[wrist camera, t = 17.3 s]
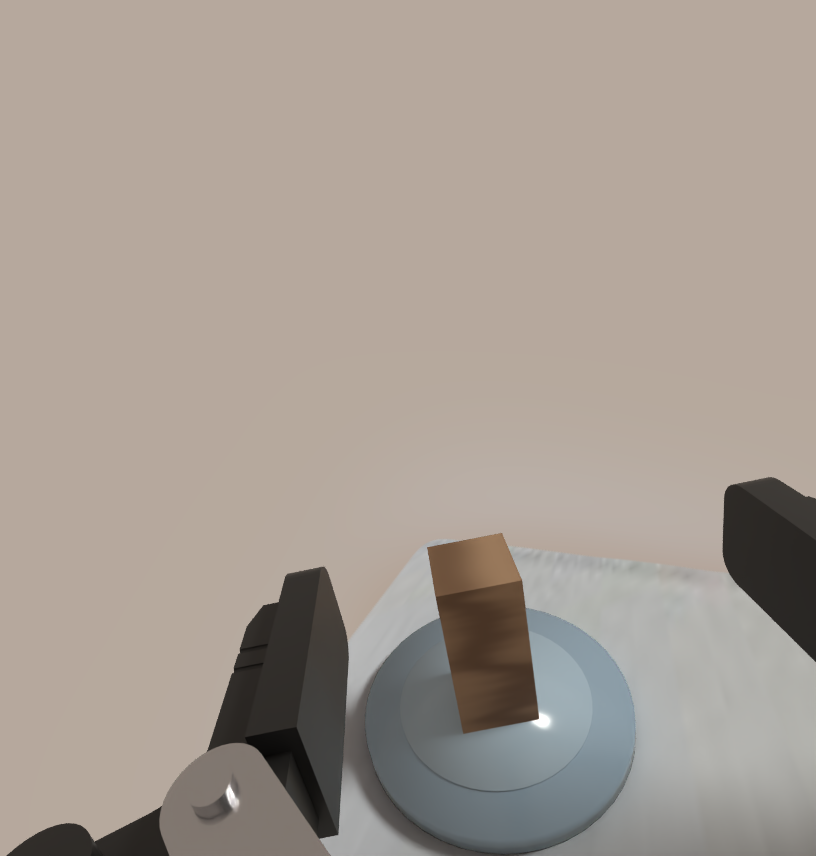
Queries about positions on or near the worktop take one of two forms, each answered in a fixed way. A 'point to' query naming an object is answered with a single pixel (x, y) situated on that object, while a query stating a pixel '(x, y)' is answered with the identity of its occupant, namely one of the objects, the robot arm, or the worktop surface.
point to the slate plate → (503, 743)
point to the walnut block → (485, 632)
